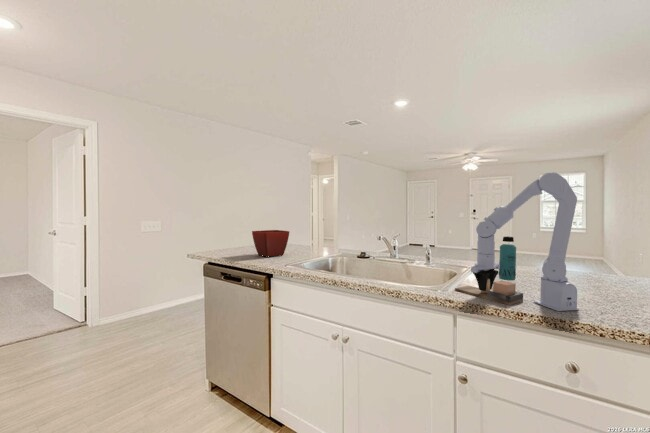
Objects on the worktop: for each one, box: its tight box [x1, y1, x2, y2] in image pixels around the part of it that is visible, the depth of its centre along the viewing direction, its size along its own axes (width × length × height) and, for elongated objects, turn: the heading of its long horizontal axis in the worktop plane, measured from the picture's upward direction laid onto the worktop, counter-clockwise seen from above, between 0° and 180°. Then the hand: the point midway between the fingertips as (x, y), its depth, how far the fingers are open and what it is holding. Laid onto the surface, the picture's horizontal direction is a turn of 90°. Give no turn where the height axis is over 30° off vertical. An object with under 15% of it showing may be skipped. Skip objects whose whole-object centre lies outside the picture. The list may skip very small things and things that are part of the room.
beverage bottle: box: [498, 236, 517, 282], centre depth 133 cm, size 6×7×20 cm
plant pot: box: [251, 229, 290, 258], centre depth 209 cm, size 19×19×17 cm
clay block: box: [481, 278, 517, 295], centre depth 111 cm, size 11×5×5 cm, turn 30°
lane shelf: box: [454, 284, 524, 306], centre depth 114 cm, size 21×8×3 cm, turn 30°
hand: (485, 289), depth 115 cm, fingers closed on clay block, 3 cm apart
